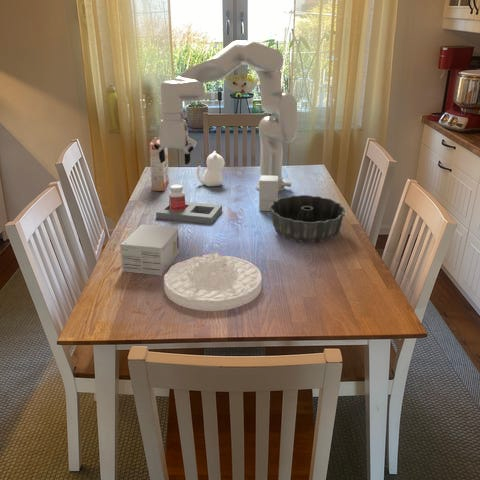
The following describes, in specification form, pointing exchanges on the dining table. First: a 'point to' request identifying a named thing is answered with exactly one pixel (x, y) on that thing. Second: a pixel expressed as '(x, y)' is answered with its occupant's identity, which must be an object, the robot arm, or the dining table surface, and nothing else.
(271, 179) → the supplement box
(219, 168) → the cat figurine
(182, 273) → the cake
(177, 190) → the pill bottle
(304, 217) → the bundt pan
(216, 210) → the rail
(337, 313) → the dining table surface
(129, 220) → the dining table surface
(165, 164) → the cracker box
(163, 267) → the supplement box
